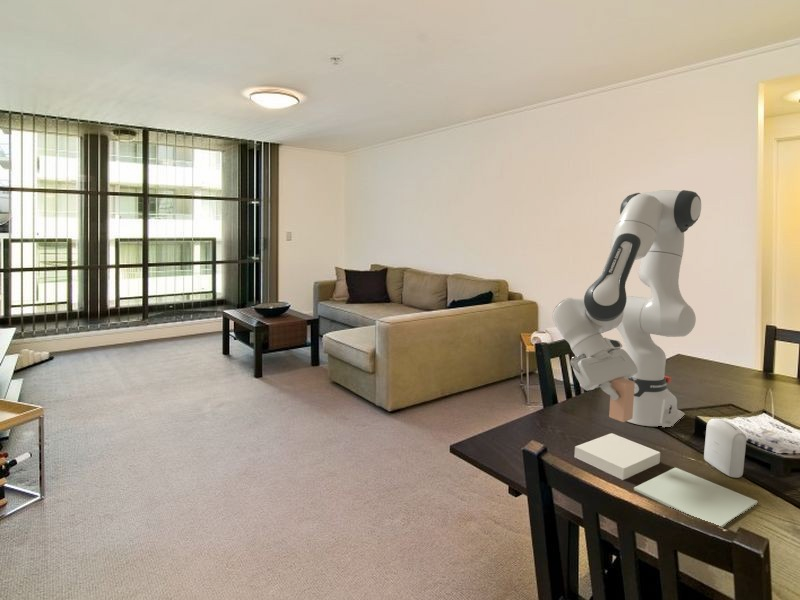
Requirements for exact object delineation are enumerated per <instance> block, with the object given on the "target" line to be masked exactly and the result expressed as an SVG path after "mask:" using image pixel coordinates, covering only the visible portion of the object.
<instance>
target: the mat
mask: <svg viewBox="0 0 800 600" xmlns="http://www.w3.org/2000/svg"><path fill="white" fill-rule="evenodd" d="M633 491H635V492H637V493H639V494H641V495H643V496H645V497H647V498H650V499H652V500H654V501H655V502H658V503H659V504H662V505H664V506H666V507H668V508H670V507H671V508H670V509H672V508H674V509H676V510H679V511H681V512H684V513H686V514H689V515H691V516H694V517H697V518H700V519H702V520H705V521H708V522H711V523H714V524H716V525H719V526H721V527H722V528H724V527H725V526H727V525H728V524H729V523H728V522H730V521H731V520H732V519H734V518H735V517H737V516H739V515H740V514H742V513H743V514H744V513H746V512H747V511H749V510H750V509H752V508H753V507H755V506H756V505H758V504H757V503H758V502H759V501H758V500H756V499H754V498H752V497H749V496H746V495H744V494H741V493H738V492H736V491H734V490H732V489H729V488H727V487H725V486H721V485H719V484H717V483H714V482H712V481H710V480H707V479H705V478H702V477H700V476H697V475H695V474H693V473H690V472H687V471H685V470H683V469H680V468H678V467H674V468H671V469H669V470H667V471H665V472H663V473H661V474H659V475H657V476H655V477H653V478H651V479H649V480H647V481H644V482H642V483H641V484H638V485H637V486H634V487H633ZM754 505H755V506H754ZM751 507H752V508H751ZM674 509H673V510H674ZM748 509H749V510H748ZM676 510H675V511H676ZM745 511H746V512H745ZM743 514H742V515H743ZM740 516H741V515H740ZM740 516H739V517H740ZM737 518H738V517H737ZM734 520H735V519H734ZM731 522H732V521H731ZM731 522H730V523H731ZM727 523H728V524H727ZM726 524H727V525H726Z"/></svg>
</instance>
